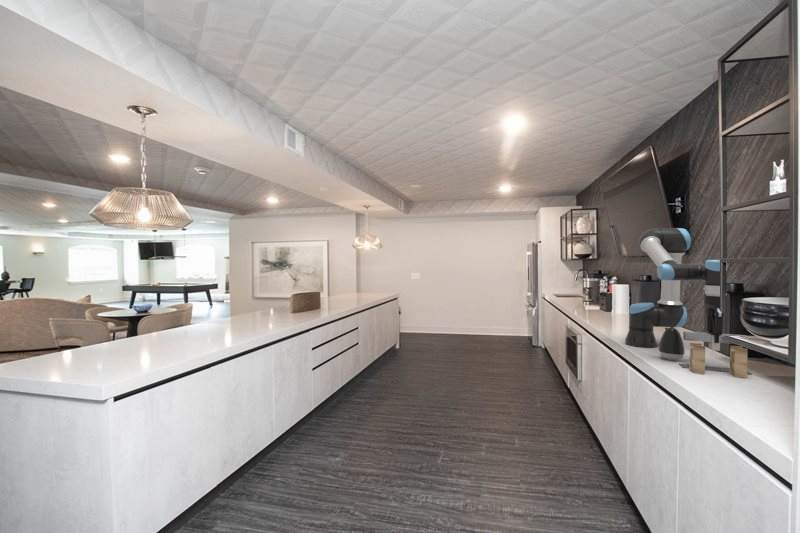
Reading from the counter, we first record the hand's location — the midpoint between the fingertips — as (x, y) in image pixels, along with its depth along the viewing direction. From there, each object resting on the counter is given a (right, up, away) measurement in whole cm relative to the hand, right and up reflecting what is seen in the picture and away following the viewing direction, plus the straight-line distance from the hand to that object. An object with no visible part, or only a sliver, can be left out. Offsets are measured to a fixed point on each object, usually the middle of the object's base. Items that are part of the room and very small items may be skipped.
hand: (714, 349), depth 175 cm
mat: (0, -9, 0) cm, 9 cm away
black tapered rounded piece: (-7, -9, +17) cm, 20 cm away
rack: (-4, -9, -7) cm, 12 cm away
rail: (0, +3, 0) cm, 3 cm away
